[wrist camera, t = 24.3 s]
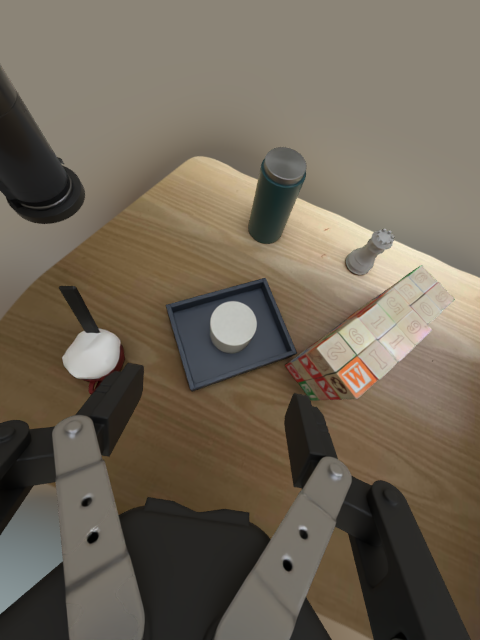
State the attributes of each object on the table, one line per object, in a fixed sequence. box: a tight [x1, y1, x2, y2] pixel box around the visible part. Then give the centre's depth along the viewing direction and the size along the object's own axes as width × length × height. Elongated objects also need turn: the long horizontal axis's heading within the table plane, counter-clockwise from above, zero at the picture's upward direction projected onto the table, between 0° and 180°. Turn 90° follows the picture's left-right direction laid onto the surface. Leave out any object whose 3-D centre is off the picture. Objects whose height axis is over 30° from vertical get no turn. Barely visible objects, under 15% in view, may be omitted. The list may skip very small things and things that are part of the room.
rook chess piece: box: [346, 229, 395, 275], centre depth 41 cm, size 4×4×8 cm
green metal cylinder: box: [248, 147, 306, 244], centre depth 39 cm, size 6×6×13 cm
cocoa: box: [59, 286, 125, 394], centre depth 30 cm, size 10×6×12 cm, turn 160°
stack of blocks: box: [285, 265, 455, 400], centre depth 34 cm, size 21×6×12 cm, turn 126°
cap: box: [210, 301, 257, 353], centre depth 36 cm, size 6×6×5 cm
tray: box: [166, 278, 297, 391], centre depth 37 cm, size 15×12×2 cm
